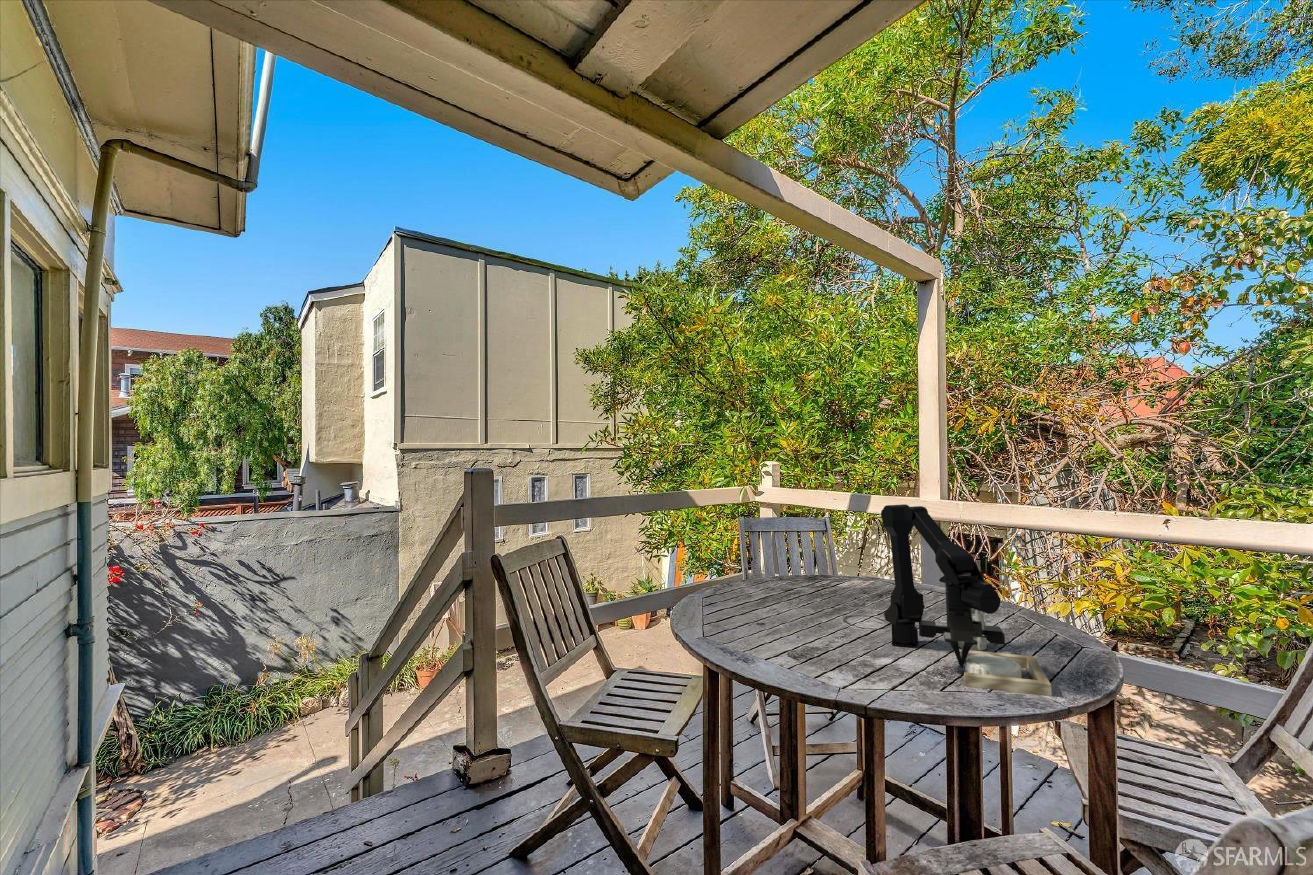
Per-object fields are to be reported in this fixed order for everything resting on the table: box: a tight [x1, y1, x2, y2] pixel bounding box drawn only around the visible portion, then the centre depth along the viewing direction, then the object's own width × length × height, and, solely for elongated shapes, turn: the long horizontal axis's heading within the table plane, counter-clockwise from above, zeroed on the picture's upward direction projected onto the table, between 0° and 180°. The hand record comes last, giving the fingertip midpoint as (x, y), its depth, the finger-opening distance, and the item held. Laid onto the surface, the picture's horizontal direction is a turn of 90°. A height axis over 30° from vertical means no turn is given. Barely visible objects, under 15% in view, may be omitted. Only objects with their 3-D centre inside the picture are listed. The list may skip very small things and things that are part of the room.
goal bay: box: [959, 648, 1052, 697], centre depth 140 cm, size 17×19×2 cm
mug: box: [958, 609, 989, 651], centre depth 159 cm, size 8×12×12 cm, turn 171°
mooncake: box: [964, 654, 1023, 679], centre depth 142 cm, size 12×12×4 cm
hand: (961, 666), depth 144 cm, fingers closed
